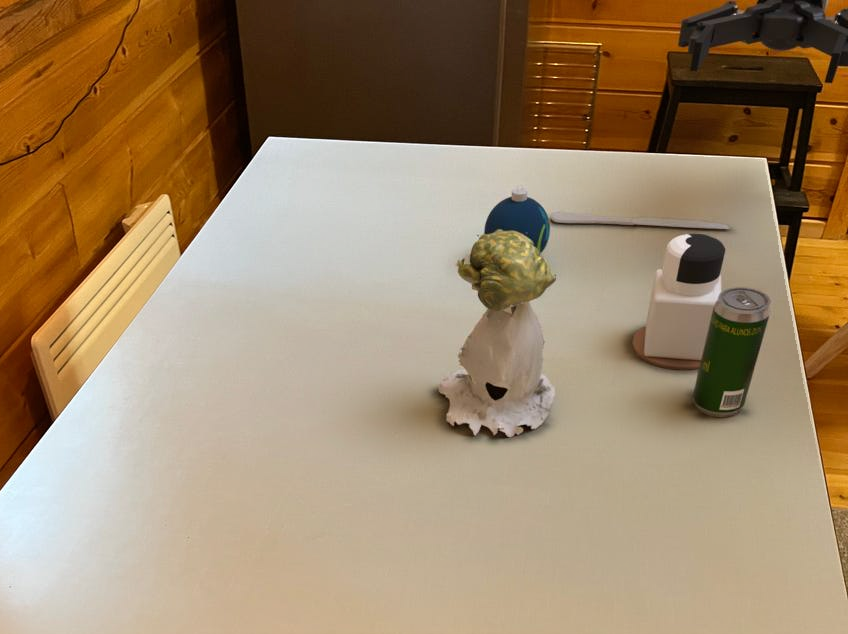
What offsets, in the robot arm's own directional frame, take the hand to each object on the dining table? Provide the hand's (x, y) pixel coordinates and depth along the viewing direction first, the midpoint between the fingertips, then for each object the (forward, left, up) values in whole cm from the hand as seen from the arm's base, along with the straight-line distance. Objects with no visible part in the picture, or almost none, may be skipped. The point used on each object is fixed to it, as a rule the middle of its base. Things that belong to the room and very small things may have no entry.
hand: (762, 62), depth 99 cm
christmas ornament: (+21, -14, -26) cm, 37 cm away
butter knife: (+2, -22, -26) cm, 34 cm away
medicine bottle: (+7, +10, -26) cm, 29 cm away
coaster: (+7, +10, -26) cm, 29 cm away
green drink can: (+7, +22, -26) cm, 35 cm away
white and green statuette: (+30, +18, -26) cm, 44 cm away
